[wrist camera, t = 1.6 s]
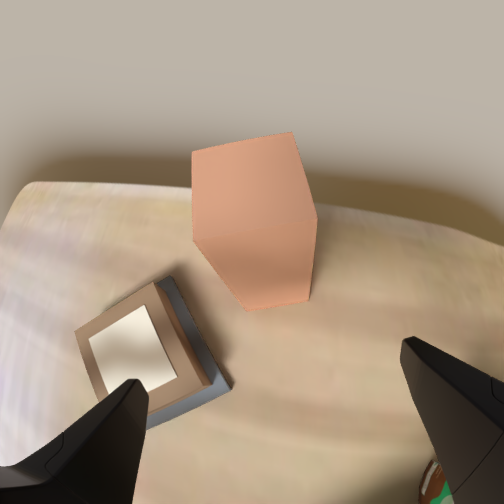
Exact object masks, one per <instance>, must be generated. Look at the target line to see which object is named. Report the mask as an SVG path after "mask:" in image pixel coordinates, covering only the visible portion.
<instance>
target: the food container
mask: <svg viewBox="0 0 504 504" xmlns="http://www.w3.org/2000/svg"><path fill="white" fill-rule="evenodd" d="M418 501H419V503H420V504H454V501H453V498H452V495H451V492H450V489H449V487H448V484H447V481H446V478H445V476H444V473H443V470H442V468H441V465H440V463H438V462H435V461H433V460H431V462H430V463H429V465H428V467H427V469H426V470H425V472H424V475H423V478H422V481H421V484H420V486H419V499H418Z"/></svg>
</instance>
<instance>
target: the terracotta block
mask: <svg viewBox="0 0 504 504" xmlns="http://www.w3.org/2000/svg"><path fill="white" fill-rule="evenodd" d="M317 221H318V218H317V214H316V210H315V206H314V203H313V199H312V196H311V192H310V189H309V185H308V182H307V179H306V175H305V172H304V168H303V165H302V162H301V158H300V155H299V152H298V148H297V145H296V142H295V139H294V136H293V133H292V132H288V133H282V134H276V135H269V136H264V137H258V138H253V139H248V140H242V141H237V142H232V143H228V144H223V145H218V146H214V147H210V148H205V149H201V150H197V151H193V152H192V222H193V242H194V243H195V244H196V246H197V247H198V248H199V250H200V251H201V252H202V254H203V255H204V256H205V258H206V259H207V260H208V262H209V263H210V264H211V266H212V267H213V268H214V270H215V271H216V272H217V274H218V275H219V276H220V278H221V279H222V280H223V281H224V283H225V284H226V285H227V287H228V288H229V289H230V291H231V292H232V293H233V294H234V296H235V297H236V298H237V300H238V301H239V302H240V303H241V305H242V306H243V307H244V309H245V310H246V311H252V310H258V309H265V308H271V307H277V306H283V305H289V304H294V303H300V302H306V301H308V300H309V293H310V285H311V277H312V269H313V260H314V251H315V242H316V232H317Z"/></svg>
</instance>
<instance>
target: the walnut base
mask: <svg viewBox="0 0 504 504" xmlns="http://www.w3.org/2000/svg"><path fill="white" fill-rule="evenodd" d="M74 332H75V335H76V339H77V342H78V345H79V349H80V352H81V355H82V358H83V361H84V364H85V367H86V370H87V373H88V375H89V378H90V381H91V383H92V386H93V389H94V391H95V394H96V396H97V399H98V401H99V402H100V401H102V400H103V399H104V398H105V397H106V396H108V395H109V394H110V393H111V392H113V391H114V390H115V389H116V388H117V387H119V386H120V385H121V384H122V383H123V382H125V381H126V380H127V379H134V378H137V379H139V380H140V381H141V382H142V384H143V386H144V388H145V389H146V391H147V393H148V395H149V406H148V415H147V425H146V430H148V429H150V428H153V427H155V426H157V425H160V424H162V423H164V422H166V421H169V420H171V419H173V418H175V417H178V416H180V415H182V414H184V413H186V412H188V411H191V410H193V409H195V408H197V407H199V406H201V405H203V404H205V403H207V402H209V401H211V400H213V399H215V398H217V397H219V396H221V395H223V394H225V393H227V392H229V391H231V388H230V386H229V385H228V383H227V381H226V379H225V378H224V376H223V374H222V372H221V370H220V369H219V367H218V365H217V363H216V361H215V360H214V358H213V356H212V354H211V352H210V351H209V349H208V347H207V345H206V343H205V341H204V339H203V337H202V335H201V334H200V332H199V330H198V328H197V326H196V324H195V322H194V320H193V318H192V316H191V314H190V312H189V310H188V308H187V306H186V304H185V302H184V300H183V298H182V296H181V294H180V292H179V290H178V288H177V285H176V283H175V281H174V279H173V277H171V276H168V277H167V278H165V279H163V280H162V281H160V282H159V283H157V284H155V283H154V282H152V283H150V284H148V285H147V286H145V287H143V288H142V289H140V290H139V291H137V292H135V293H134V294H132V295H131V296H129V297H127V298H126V299H124V300H123V301H121V302H119V303H118V304H116V305H115V306H113V307H112V308H110V309H108V310H107V311H105V312H104V313H102V314H101V315H99V316H97V317H96V318H94V319H93V320H91V321H90V322H88V323H87V324H85V325H83V326H82V327H80V328H79V329H77V330H76V331H74Z"/></svg>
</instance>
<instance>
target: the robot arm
mask: <svg viewBox="0 0 504 504" xmlns="http://www.w3.org/2000/svg"><path fill="white" fill-rule="evenodd" d="M400 363H401V366H402V369H403V372H404V375H405V378H406V381H407V384H408V387H409V390H410V393H411V396H412V399H413V401H414V404H415V406H416V408H417V410H418V413H419V415H420V417H421V419H422V422H423V424H424V426H425V428H426V431H427V433H428V435H429V438H430V440H431V443H432V445H433V447H434V450H435V452H436V455H437V457H438V460H439V462H440V465H441V468H442V470H443V473H444V476H445V478H446V481H447V484H448V487H449V489H450V492H451V495H452V498H453V501H454V504H504V382H502V381H500V380H498V379H496V378H494V377H490V375H488V374H486V373H484V372H482V371H480V370H478V369H476V368H475V367H473V366H471V365H469V364H467V363H465V362H463V361H461V360H459V359H457V358H455V357H453V356H451V355H450V354H448V353H446V352H444V351H442V350H440V349H438V348H436V347H434V346H432V345H430V344H428V343H427V342H425V341H423V340H421V339H419V338H417V337H415V336H412V337H408V338H405V339H403V341H402V346H401V353H400ZM148 406H149V395H148V393H147V391H146V389H145V388H144V386H143V384H142V382H141V381H140V380H139V379H137V378H134V379H127V380H126V381H125V382H123V383H122V384H121V385H120V386H119V387H117V388H116V389H115V390H114V391H113V392H111V393H110V394H109V395H108V396H106V397H105V398H104V399H103V400H102V401H100V402H99V403H98V404H97V405H96V406H94V407H93V408H92V409H91V410H89V411H88V412H87V413H86V414H84V415H83V416H82V417H81V418H80V419H78V420H77V421H76V422H75V423H73V424H72V425H71V426H70V427H68V428H67V429H66V430H65V431H64V432H62V433H61V434H60V435H58V436H57V437H56V438H55V439H53V440H52V441H51V442H49V443H48V444H47V445H45V446H44V447H42V448H41V449H39V450H38V451H36V452H35V453H33V454H32V455H30V456H28V457H27V458H25V459H24V460H22V461H21V462H19V463H17V464H15V465H12V466H6V467H2V466H0V504H132V501H133V495H134V490H135V484H136V479H137V474H138V468H139V463H140V458H141V453H142V449H143V444H144V439H145V433H146V425H147V415H148Z"/></svg>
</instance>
